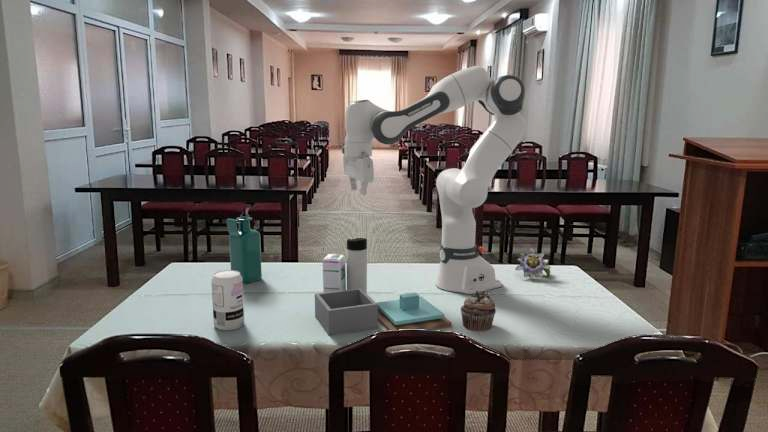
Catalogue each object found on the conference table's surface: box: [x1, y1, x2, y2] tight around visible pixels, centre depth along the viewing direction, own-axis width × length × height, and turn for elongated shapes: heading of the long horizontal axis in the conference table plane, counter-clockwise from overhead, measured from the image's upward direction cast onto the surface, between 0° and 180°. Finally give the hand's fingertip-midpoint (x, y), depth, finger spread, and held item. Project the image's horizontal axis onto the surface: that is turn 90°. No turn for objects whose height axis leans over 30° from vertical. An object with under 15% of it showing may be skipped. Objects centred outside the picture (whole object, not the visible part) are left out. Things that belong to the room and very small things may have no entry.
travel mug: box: [346, 237, 368, 295], centre depth 179 cm, size 6×7×20 cm
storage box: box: [314, 288, 378, 336], centre depth 163 cm, size 14×14×7 cm
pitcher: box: [225, 216, 263, 285], centre depth 196 cm, size 10×8×22 cm
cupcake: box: [460, 291, 497, 332], centre depth 161 cm, size 10×10×10 cm
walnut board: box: [377, 309, 453, 331], centre depth 166 cm, size 18×18×1 cm
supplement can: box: [211, 269, 245, 331], centre depth 159 cm, size 8×8×15 cm
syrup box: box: [322, 253, 347, 293], centre depth 178 cm, size 6×6×14 cm
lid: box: [376, 292, 446, 325], centre depth 165 cm, size 15×15×6 cm
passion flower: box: [515, 247, 551, 281], centre depth 205 cm, size 11×11×12 cm
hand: (358, 192), depth 191 cm, fingers open, 8 cm apart
